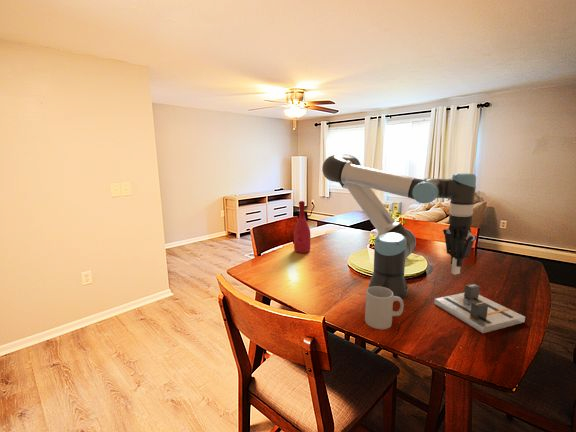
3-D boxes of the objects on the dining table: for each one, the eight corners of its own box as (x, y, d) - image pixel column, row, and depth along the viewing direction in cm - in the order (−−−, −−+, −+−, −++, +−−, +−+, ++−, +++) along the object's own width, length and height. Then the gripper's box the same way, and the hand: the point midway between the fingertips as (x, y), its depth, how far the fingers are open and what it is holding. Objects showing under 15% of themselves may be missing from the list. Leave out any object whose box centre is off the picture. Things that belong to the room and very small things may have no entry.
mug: (367, 329, 89) (368, 297, 87) (362, 314, 97) (364, 285, 95) (406, 330, 88) (408, 298, 86) (398, 315, 96) (400, 286, 94)
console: (482, 333, 86) (485, 313, 85) (434, 303, 104) (435, 286, 102) (524, 322, 91) (527, 303, 90) (471, 295, 109) (473, 279, 107)
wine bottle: (291, 249, 169) (290, 200, 163) (306, 247, 172) (306, 199, 166) (297, 254, 160) (296, 202, 154) (313, 252, 163) (313, 201, 156)
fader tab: (470, 299, 102) (471, 287, 101) (464, 296, 104) (465, 284, 104) (478, 297, 103) (479, 286, 102) (472, 294, 106) (473, 283, 105)
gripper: (484, 216, 100) (478, 278, 105) (453, 211, 112) (449, 266, 117) (468, 218, 98) (462, 281, 103) (439, 212, 110) (434, 268, 115)
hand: (455, 273), depth 110 cm, fingers closed
